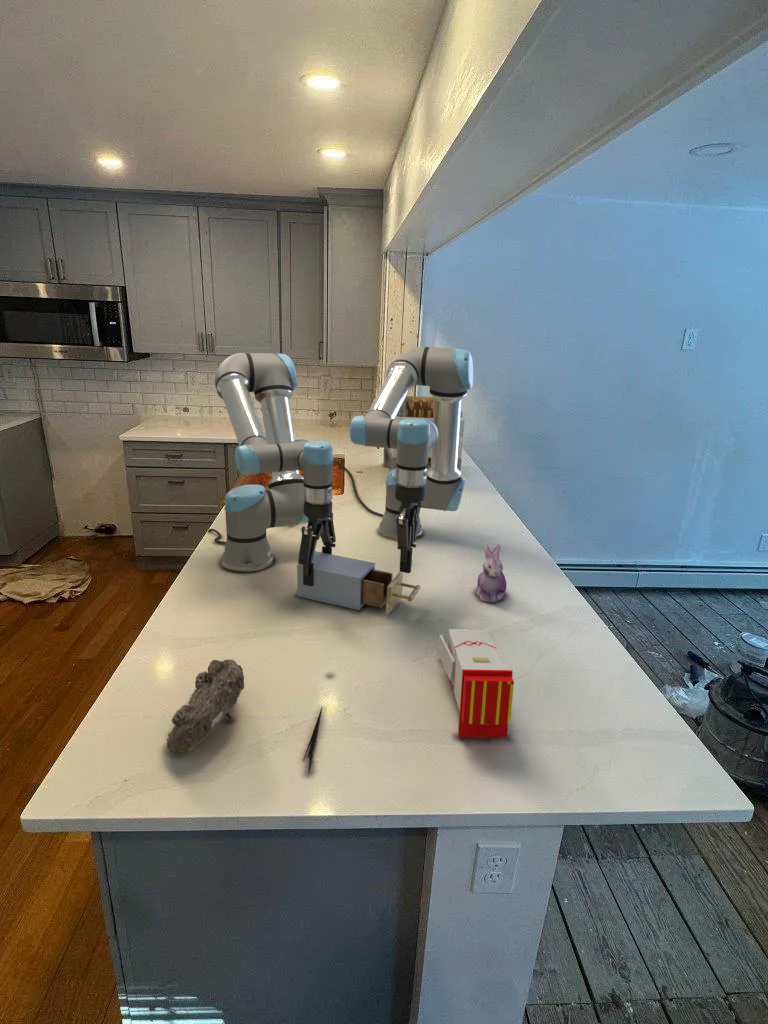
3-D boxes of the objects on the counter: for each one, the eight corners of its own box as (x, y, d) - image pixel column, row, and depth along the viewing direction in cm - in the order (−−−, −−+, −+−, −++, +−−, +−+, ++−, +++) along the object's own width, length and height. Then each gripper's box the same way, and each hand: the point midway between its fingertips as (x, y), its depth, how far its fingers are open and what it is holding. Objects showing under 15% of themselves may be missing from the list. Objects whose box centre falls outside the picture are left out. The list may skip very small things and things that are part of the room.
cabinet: (373, 593, 158) (375, 562, 154) (359, 610, 148) (360, 578, 145) (314, 580, 163) (314, 550, 160) (297, 596, 154) (297, 565, 151)
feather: (331, 679, 122) (336, 673, 122) (307, 777, 96) (313, 769, 95) (324, 675, 122) (329, 669, 121) (298, 772, 95) (304, 764, 95)
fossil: (192, 660, 117) (244, 628, 112) (224, 691, 120) (276, 661, 115) (142, 746, 98) (202, 712, 93) (182, 779, 101) (242, 748, 96)
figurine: (488, 606, 153) (494, 555, 148) (466, 590, 161) (471, 541, 156) (515, 600, 157) (522, 550, 152) (493, 584, 166) (498, 536, 160)
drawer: (420, 601, 152) (422, 576, 150) (409, 617, 144) (411, 591, 142) (344, 584, 160) (345, 561, 157) (330, 599, 151) (330, 574, 149)
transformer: (382, 463, 289) (386, 382, 275) (445, 464, 293) (451, 384, 279) (390, 482, 257) (394, 392, 243) (460, 483, 261) (468, 394, 247)
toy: (488, 613, 130) (523, 677, 101) (484, 667, 133) (517, 744, 104) (435, 612, 130) (455, 676, 101) (432, 666, 133) (451, 743, 103)
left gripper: (310, 516, 137) (310, 597, 145) (348, 490, 158) (347, 563, 165) (283, 511, 140) (284, 591, 147) (324, 486, 160) (324, 558, 168)
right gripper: (417, 493, 131) (411, 584, 139) (432, 479, 142) (426, 564, 150) (386, 488, 133) (382, 578, 141) (404, 475, 145) (399, 559, 153)
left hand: (317, 576), depth 156 cm, fingers closed on cabinet, 10 cm apart
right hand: (405, 571), depth 146 cm, fingers closed
